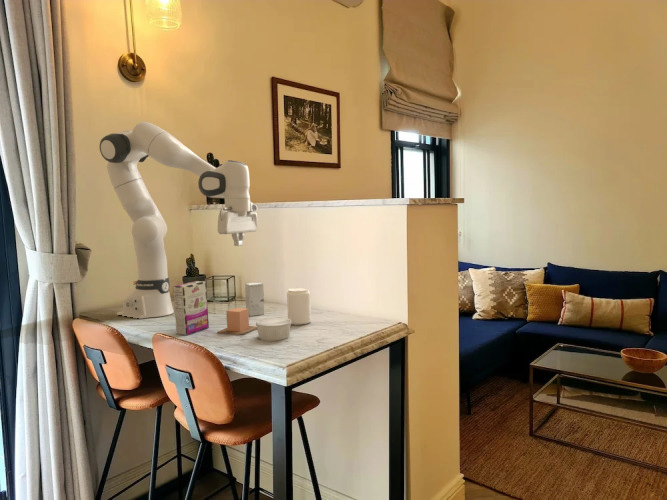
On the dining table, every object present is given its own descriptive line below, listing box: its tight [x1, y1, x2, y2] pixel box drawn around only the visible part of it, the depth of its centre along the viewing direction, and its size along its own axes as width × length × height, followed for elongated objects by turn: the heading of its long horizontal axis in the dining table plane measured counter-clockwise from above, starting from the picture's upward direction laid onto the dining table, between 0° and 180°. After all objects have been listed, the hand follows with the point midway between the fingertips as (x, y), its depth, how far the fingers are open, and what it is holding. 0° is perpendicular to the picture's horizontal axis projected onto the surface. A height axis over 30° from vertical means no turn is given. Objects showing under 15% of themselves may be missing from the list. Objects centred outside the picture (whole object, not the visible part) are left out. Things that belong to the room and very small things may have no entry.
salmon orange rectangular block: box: [225, 307, 250, 332], centre depth 172 cm, size 5×5×7 cm
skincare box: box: [244, 282, 265, 317], centre depth 197 cm, size 6×4×12 cm
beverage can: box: [286, 287, 312, 326], centre depth 181 cm, size 8×8×12 cm
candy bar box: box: [172, 280, 210, 336], centre depth 173 cm, size 11×5×16 cm, turn 153°
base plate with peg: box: [216, 325, 258, 336], centre depth 172 cm, size 10×10×6 cm
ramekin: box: [255, 316, 292, 342], centre depth 162 cm, size 11×11×5 cm
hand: (238, 245), depth 182 cm, fingers closed
